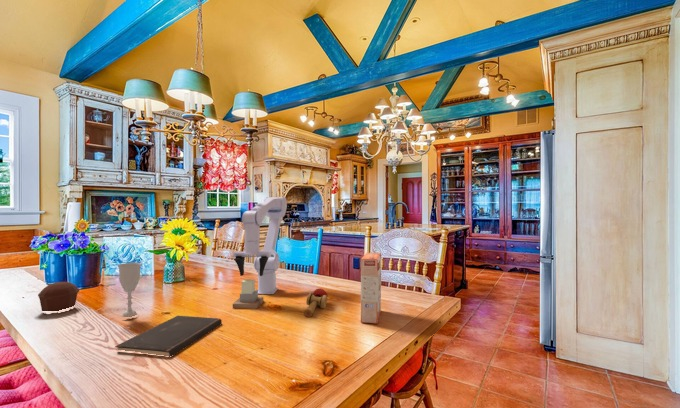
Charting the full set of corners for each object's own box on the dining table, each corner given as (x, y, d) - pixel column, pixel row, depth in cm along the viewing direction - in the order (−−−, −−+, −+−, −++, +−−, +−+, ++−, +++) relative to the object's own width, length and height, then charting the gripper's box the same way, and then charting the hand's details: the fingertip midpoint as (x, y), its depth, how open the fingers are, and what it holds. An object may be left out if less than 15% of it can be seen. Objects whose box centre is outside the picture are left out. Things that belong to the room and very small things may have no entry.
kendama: (321, 322, 106) (332, 299, 123) (317, 304, 105) (329, 284, 123) (300, 324, 107) (314, 301, 125) (295, 307, 107) (310, 286, 124)
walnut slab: (241, 302, 125) (240, 296, 125) (263, 303, 124) (263, 296, 124) (232, 310, 116) (232, 303, 116) (256, 310, 115) (256, 303, 115)
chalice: (112, 319, 105) (112, 265, 105) (133, 313, 111) (134, 262, 111) (124, 322, 101) (125, 267, 101) (146, 316, 107) (146, 263, 108)
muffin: (71, 313, 110) (71, 285, 110) (30, 317, 106) (30, 288, 106) (84, 304, 121) (84, 278, 121) (47, 307, 117) (48, 280, 117)
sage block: (244, 290, 122) (244, 279, 122) (254, 290, 122) (254, 279, 122) (241, 293, 118) (241, 281, 118) (252, 293, 118) (252, 281, 118)
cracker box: (378, 324, 99) (378, 258, 100) (360, 323, 101) (359, 258, 101) (382, 310, 113) (381, 252, 113) (365, 309, 114) (365, 252, 115)
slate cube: (243, 297, 123) (243, 290, 123) (257, 297, 123) (257, 289, 123) (239, 302, 118) (239, 294, 118) (254, 301, 118) (254, 293, 118)
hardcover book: (115, 354, 81) (115, 345, 81) (177, 322, 103) (177, 315, 103) (169, 360, 78) (169, 351, 78) (221, 325, 100) (221, 318, 100)
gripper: (230, 241, 120) (229, 277, 120) (267, 241, 120) (267, 277, 119) (236, 240, 127) (236, 273, 127) (272, 240, 127) (271, 274, 127)
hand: (251, 275), depth 124 cm, fingers open, 7 cm apart
